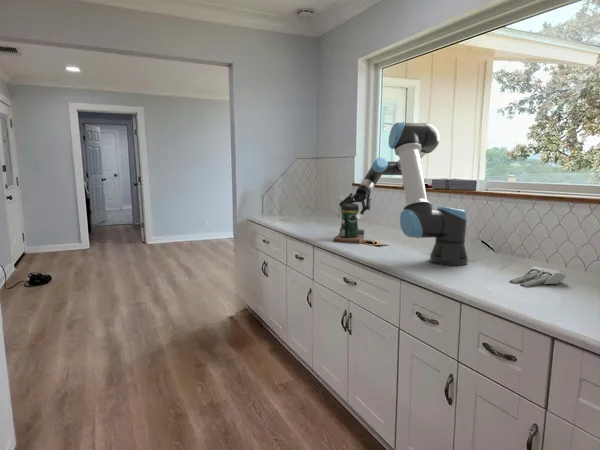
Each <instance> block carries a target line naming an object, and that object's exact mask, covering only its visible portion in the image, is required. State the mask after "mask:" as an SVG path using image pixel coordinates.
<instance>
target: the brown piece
mask: <svg viewBox="0 0 600 450" xmlns="http://www.w3.org/2000/svg"><path fill="white" fill-rule="evenodd" d="M340 231H341V227H340V228H339V233H338V234H337V235H336V236H335V237H333V241H332V242H333V243H340V244H342V243H343V244H357V245H360V244H361V242H362V241H363V240H364V238H365V228H363V229H360V228H358V237H354V238H346V237H341V236H340Z"/></svg>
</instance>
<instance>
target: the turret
mask: <svg viewBox="0 0 600 450" xmlns="http://www.w3.org/2000/svg"><path fill="white" fill-rule="evenodd" d="M566 277H567V275H565V274H564V273H562V272H561V271H559V270H556V269H552V268H546V267H540V266H535V265H533V266H532V267H530V269H528V271H527V272H526V273H524V274H523V275H522V276H519V277H516V278H513V279H510V280H509V283H511V284H520V287H523V286H525V287H524V288H529V287H531V286H535V285H537V284H539V285H538V286H540V285H542V286H543V285H553V284H554V285H555V284H556V285H557V284H559V283H561V282H563V281H564V280H565V278H566ZM521 282H522V283H521Z"/></svg>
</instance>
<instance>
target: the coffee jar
mask: <svg viewBox="0 0 600 450" xmlns="http://www.w3.org/2000/svg"><path fill="white" fill-rule="evenodd" d="M359 210H360V209H359V204H357V203H352V204H342V205H341V213H342V214H341V224H340V228H341V231H340V230H339V233H340V236H341V237H346V238H354V237H358V229H359V227H358V224H359V223H358V220H357V218H356V215H357V213H358V212H359Z"/></svg>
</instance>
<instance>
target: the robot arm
mask: <svg viewBox="0 0 600 450" xmlns="http://www.w3.org/2000/svg"><path fill="white" fill-rule="evenodd" d="M439 143H440V133H439V130H438V129H437V128H436V127H435V126H434V125H433V124H431V123H426V122H422V123H421V122H406V121H403V122H395V123H394V124H393V125H392V127H391V129H390V132H389V136H388V146H389V148H390V149H391V150H393V149H394V153H395V155H396V156H397V157H398V158H399V159H398V160H397V161H387V160H386V159H385V158H383V157H378V158H376V159H375V160H373V161H374V162H372V164H371V166H370V168H369V170H368V171H367V173H366V175H365V176H364V178H363V179H362V181H361V183H360V184H359V186H358V187H357V188H356V190H355V193H352V192H351V193H350V194H349V195H347V197H345V198H344V199H343V200H342V201H341V202H340V203H338V205H339V206H340V207H339V208H338V211H337V213H336V216H337V218H340V217H342V213H341V205H342V204H356V203H361V206H362V207H361V206H360V209H359V212H358V213H357V215H356V218H357V221H360V219H361V217H362V215H364V213H366V211H367V210H368V211H369V210H370V209H371V201H372V196H371V192H373V189H374V188H375V186H376V184H377V183H378V181H379V180H380V179H381V177H382V176H402V182H403V183H402V185H403V189H404V197H405V202H406V204H405V205H404V207H403V210H402V211H401V212H400V216H399V218H400V219H399V224H400V228H401V231H402V232H403V234H404V235H405V236H406V237H408V238H415V239H421V238H422V239H423V238H424V239H425V238H428V239H429V238H430V239H431V238H435V242H434V244H433V247H432V250H431V253H430V254H429V255H430V256H429V260H430V262H432V263H436V264H439V265H440V264H441V265H447V266H465V265H468V263H469V257H468V252H467V249H466V245H465V243H466V242H465V241H466V230H467V222H468V220H467V219H468V217H467V216H468V215H467V212H466V210H464V209H461V208H460V209H459V208H454V207H448V206H447V207H446V206H439V205H438V206H437V208H436V209H433V208H434V207H433V204H432V202H430V201H428V197H427V192H426V185H425V179H424V174H423V168H422V163H421V159H422V158H423V157H425V156H426V154H431V153H432V152H434V150H436V148H437V147H438V146H439ZM365 200H366V202H365Z"/></svg>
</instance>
